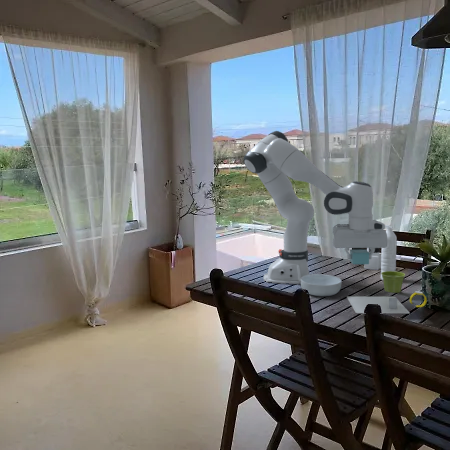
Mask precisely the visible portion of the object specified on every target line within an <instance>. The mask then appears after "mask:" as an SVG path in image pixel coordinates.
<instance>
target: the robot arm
mask: <svg viewBox="0 0 450 450" xmlns="http://www.w3.org/2000/svg"><path fill="white" fill-rule="evenodd" d="M243 164H244V165H245V168H246V169H247V170H248V171H249V172H251V173H252V174H256V175H257V177H258V178H259V179H260V181H261V183H262V184H263V185H264V188H265V189H266V191H268V193H269V195H270V196H271V198H272V200H273V202H274V204H275V205H276V208H277V211H278V214H280V216H281V217H282V218H284V219H285V220H287V221H286V222H287V223H286V228H285V231H284V232H283V249H279V250H278V252H277V253H278V254H279V258H277V259H276V260H274V261H273V262H272V263H271V264H270V265H269V266H268V270H267V273H265V274H264V275H263V281H264V282H265V281H266V283H268V282H272V283H271V284H286V283H289V285H291V284H292V285H299V284H300V285H301V278H302V277H303V276H306V275H310V270H309V264H308V263H309V250H308V233H309V227H310V223H311V220H312V219H313V217H314V215H315V209H314V207H313V205H312V204H311V203H310V202H308V200H306V199H302V198H299V196H297V194H296V192H295V190H294V188H293V183H292V182H291V180H293V181H298V182H303V183H304V182H305V183H308V184H311V185H313V186H314V187H316V188H317V189H318V190H319V191H320V192H322V193H323V194H324V195H325V197H324V199H323V206H324V209H325V210H326V212H327V213H329V214H331V215H333V216H340V215H343V214H348V223H343V224H340V223H338V224H336V225H334V226H333V227H332V235H333V238H332V246H333V247H334V248H336V249H344V251H345V253H346V254H347V255H346V256H347V260H350V259H352V254H350V249H367V248H370V250H371V251H370V253H369V259H372V254H373V253H374V251H375V248H379V249H382V248H386V246H387V233H386V230H385V229H386V228H385V225H386V224H385V223H383V222H382V221H379V220H376V219H373V217H374V215H373V207H374V194H373V193H374V192H373V187H372V185H370V184H369V183H368V182H364V181H351V182H350V183H349V184H347V185H345V186H342V185H339V183H337V182H336V181H334V180H333V179H332V178H330V177H329V176H328V175H327V174H325V173H324V172H323V171H321V170H320V169H319V168H318V167H317V166H316V165H315V164H314V163H313V162H312V161H311V159H309V158H308V156H306V155H305V154H304V153H303V152H302V151H301V150H300V149H299V148H297V147H296V146H295V145H293V144H291V143H290V142H289V139H288V138H287V136H286V135H285V134H284V133H283V132H281V131H279V130H275V131H272V132H270V133H269V134H268V135H266V136H264V137H263V138H262V139H260V140H259V141H257V143H256V144H255V145H254V146H253V147H252V148H250V150H249V151H247V152H246V154H245V155H244V156H243ZM289 178H290V179H289Z"/></svg>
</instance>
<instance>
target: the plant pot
mask: <svg viewBox="0 0 450 450" xmlns="http://www.w3.org/2000/svg"><path fill="white" fill-rule="evenodd" d="M381 275H382V277H383V280H382V281H383V288H384V291H385V292H387V293H392V294H394V293H395V294H396V293H397V294H398V293H401V292H402V287H403V281H404V278H405V277H406V273H404V272H401V271H396V270H395V271H385V272H382V273H381V272H380V276H381Z"/></svg>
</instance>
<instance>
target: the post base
mask: <svg viewBox="0 0 450 450" xmlns="http://www.w3.org/2000/svg"><path fill="white" fill-rule="evenodd" d="M346 298H347V300H348V302H349V303H350V305H351V307H352V309H353V311H354V312H355V314H365V313H364V309H365V307H366V305H367V304H378V305H380V306H381V309H382V313H381V314H410V311H409V310H408V309H407V308H406V307H405V306H404V304H402V303H401V301H400V300H399V299H398V298H397V297H396V296H346Z"/></svg>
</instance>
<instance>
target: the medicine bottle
mask: <svg viewBox="0 0 450 450" xmlns="http://www.w3.org/2000/svg"><path fill="white" fill-rule="evenodd" d="M366 250H367V251H368V252H369V253H370V251H371V250H370V248H366ZM381 258H382V257H381V253H380V248H375V251H374V253H373V254H372V259H369V264H363V265H364V266H363V268H364V270H372V271H379V270H381Z"/></svg>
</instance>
